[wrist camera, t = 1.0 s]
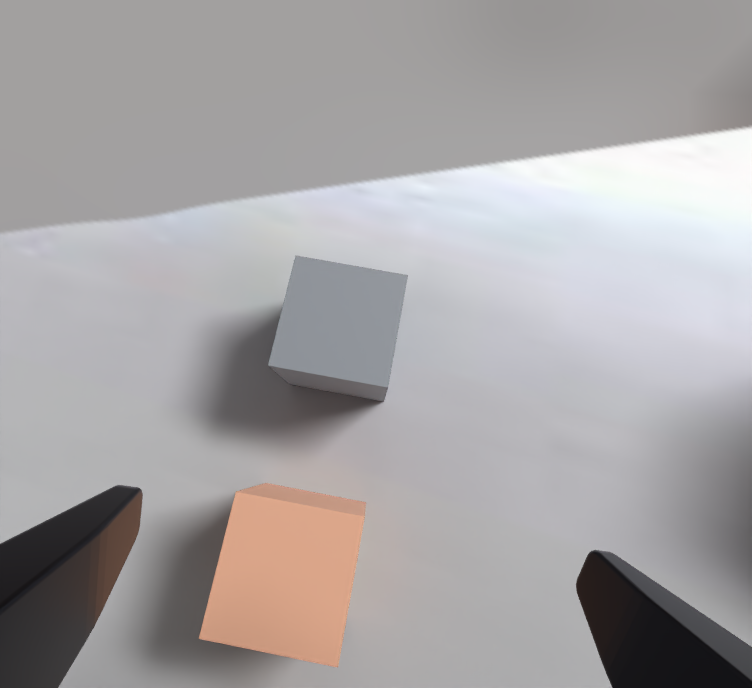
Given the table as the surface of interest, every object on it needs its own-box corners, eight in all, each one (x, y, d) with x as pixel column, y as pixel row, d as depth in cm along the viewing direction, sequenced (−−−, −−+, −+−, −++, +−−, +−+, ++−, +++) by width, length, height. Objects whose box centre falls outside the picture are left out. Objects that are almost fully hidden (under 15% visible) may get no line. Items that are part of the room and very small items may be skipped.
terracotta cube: (345, 615, 20) (337, 667, 15) (240, 593, 20) (198, 638, 15) (365, 502, 21) (364, 516, 16) (266, 483, 21) (235, 491, 16)
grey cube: (383, 401, 22) (387, 387, 17) (289, 384, 22) (267, 365, 18) (399, 311, 23) (407, 275, 19) (310, 296, 24) (295, 255, 19)
